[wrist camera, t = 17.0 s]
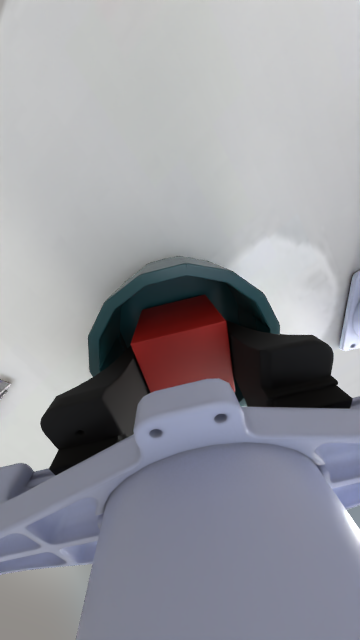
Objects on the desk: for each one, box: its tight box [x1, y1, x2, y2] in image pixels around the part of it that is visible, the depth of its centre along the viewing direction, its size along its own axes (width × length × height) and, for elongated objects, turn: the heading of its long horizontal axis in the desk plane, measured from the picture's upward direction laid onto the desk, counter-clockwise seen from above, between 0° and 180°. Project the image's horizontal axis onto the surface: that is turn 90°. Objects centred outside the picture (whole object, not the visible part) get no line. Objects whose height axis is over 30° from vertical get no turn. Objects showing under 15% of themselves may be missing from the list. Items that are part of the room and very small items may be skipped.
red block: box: [131, 295, 235, 393], centre depth 12 cm, size 5×5×5 cm
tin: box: [88, 256, 280, 407], centre depth 13 cm, size 11×11×6 cm
